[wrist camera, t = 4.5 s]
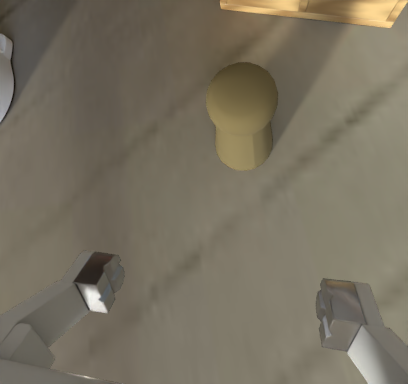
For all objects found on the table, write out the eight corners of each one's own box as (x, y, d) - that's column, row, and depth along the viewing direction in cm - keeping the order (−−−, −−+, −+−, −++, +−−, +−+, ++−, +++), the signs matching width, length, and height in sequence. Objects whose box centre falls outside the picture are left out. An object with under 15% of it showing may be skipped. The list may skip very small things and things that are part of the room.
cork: (213, 119, 30) (194, 54, 19) (269, 112, 29) (281, 40, 19) (217, 173, 29) (199, 134, 18) (275, 167, 28) (292, 124, 18)
